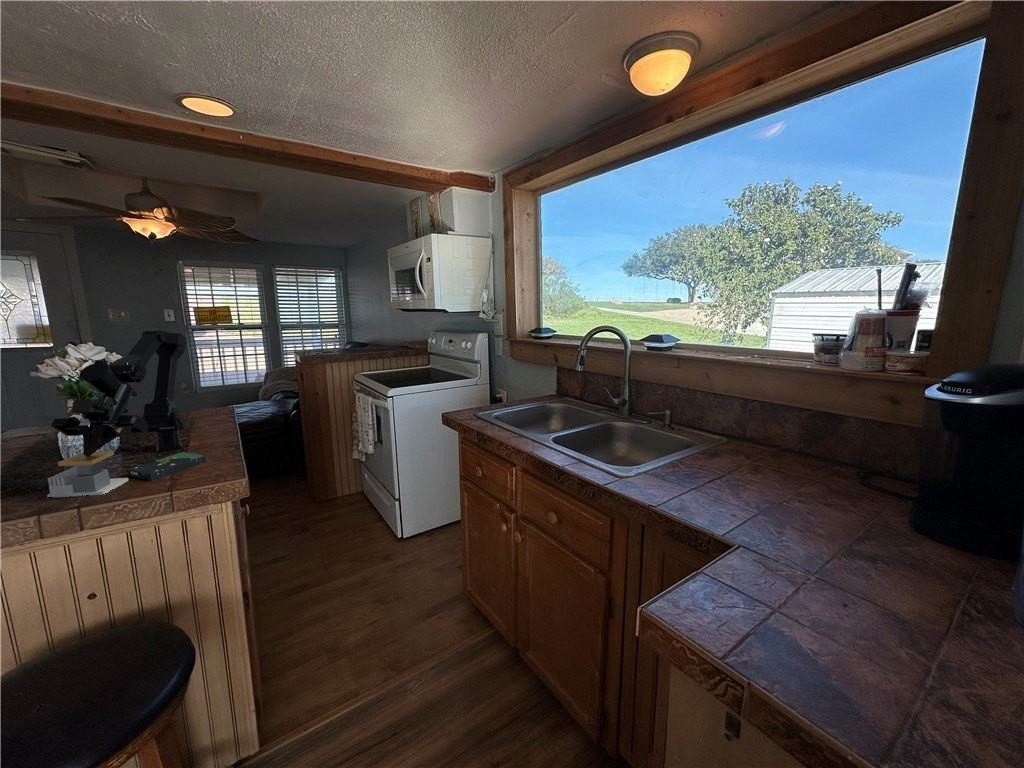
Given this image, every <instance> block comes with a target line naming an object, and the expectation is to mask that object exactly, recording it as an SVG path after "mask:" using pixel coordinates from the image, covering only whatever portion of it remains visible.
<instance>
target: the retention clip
mask: <svg viewBox="0 0 1024 768" xmlns="http://www.w3.org/2000/svg"><path fill="white" fill-rule="evenodd" d="M113 455H115V452H114V450H107V451H105V450H102V451H99V450H97V451H96V452H94V453H93V454H92V455H90V456H85V455H84V454H83V451H82V452H80V453H78V454H77V453H76V454H75V455H72V456H70V457H68V458H65V459H63V460H61V461H57V465H58V467H72V466H73V467H76V468H77V472H78V477H80V476H93V475H95V474H97V473H99V472H101V471H102V470H103V469H102V465H101V461H104V460H105V459H107V458H109V457H112V456H113Z"/></svg>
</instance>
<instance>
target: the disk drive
mask: <svg viewBox="0 0 1024 768" xmlns="http://www.w3.org/2000/svg"><path fill="white" fill-rule="evenodd" d="M204 462H206V463H207V462H208V460H207V455H206V454H200V453H196V452H195V453H194V452H193V453H191V452H186V451H182V452H178V453H173V454H170V455H167V456H165V457H161V458H158V459H154V460H152V461H148V462H145V463H142V464H139V465H136V466H132V467H130V468H127V474H128V477H131V478H135V477H137V478H136V479H140V478H141V480H144V479H147V480H146V481H149V480H151V481H150V482H154V481H153V480H155V481H157V480H156V479H158V480H160V479H159V478H161V479H163V478H165V477H164V476H166V477H168V476H167V475H169V476H171V475H170V474H172V475H174V474H173V473H175V474H177V473H180V472H182V470H183V471H186V470H188V468H189V469H191V468H190V467H192V468H194V467H196V466H195V465H198V466H200V465H202V464H201V463H203V464H205V463H204ZM199 464H200V465H199ZM193 466H194V467H193ZM185 469H186V470H185ZM179 471H180V472H179ZM176 472H177V473H176ZM162 477H163V478H162Z"/></svg>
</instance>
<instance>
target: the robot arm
mask: <svg viewBox="0 0 1024 768" xmlns="http://www.w3.org/2000/svg"><path fill="white" fill-rule="evenodd" d="M187 345H188V339H187V337H186V336H185V335H183V334H182V333H181V332H167V331H165V330H162V329H151V330H149V329H147V330H143V332H142V334H141V337H140V338H139V340H138V341H137V342H136V343H135V345H133V347H132V348H131V349H130V351H129V352H128V353H127V354H126V355H125V356H123V357H120V358H117V359H116V360H114V361H113V362H111V364H109V363H108V362H107V361H106V360H105V359H104V360H95V361H94V363H92V364H90V365H87V366H85V367H84V368H83V369H81V370H80V372H79V375H78V377H79V378H80V379H81V380H82V381H83V382H84V383H85V384H87V385H88V386H89V387H90V388H91V389H93V390H94V391H96V392H97V393H99V394H100V393H101V395H100V396H99V398H97V399H93V398H92V399H89V398H87V399H84V398H83V399H73V401H72V406H71V410H70V412H71V413H72V414H76V413H77V414H81V415H82V416H81V417H82V418H84V419H81V420H80V419H79V418H77V417H76V416H58V417H54V419H53V421H52V422H51V424H50V425H49V426H50V427H51V428H52V429H55V430H57V431H58V432H60V433H61V434H63V435H65V436H68V437H75V436H76V437H77V436H78V437H79V436H82V443H83V444H82V446H83V447H82V448H83V449H82V450H83V451H82V452H83V454H84V455H85V456H90V455H92V454H93V453H94V452H98V451H99V450H100V449H101V448H102V447H104V446H106V445H107V444H109V443H110V442H111V441H113V440H115V439H116V438H119V437H122V434H121V431H122V430H123V429H126V428H129V429H130V432H131V433H133V434H135V435H136V434H146V433H155V437H156V442H157V445H156V453H159V452H165V451H170V450H171V449H172V450H177V449H183V442H182V441H181V438H180V432H179V431H181V430H184V429H185V428H186V420H185V419H184V418H183V417H182V416H181V415H180V414H179V408H178V406H177V405H176V404H175V402H174V394H175V387H176V386H175V385H176V379H177V378H176V377H177V376H176V375H177V369H178V368H177V367H178V360H179V359H181V357H182V355H184V353H185V350H186V347H187ZM155 354H156V355H157V357H158V360H157V368H156V369H157V370H156V376H155V377H156V378H155V385H154V392H153V400H151V402H149V403H146V404H144V406H143V414H142V418H141V417H140V416H139V415H138V414H128V413H129V410H128V409H127V406H128V403H129V401H130V399H131V397H138V393H137V391H136V389H135V386H131V385H130V384H139V383H142V382H143V381H144V379H145V377H146V375H147V373H148V369H147V367H146V366H147V364H148V362H149V361H150V360H151V358H152V357H153V356H154V355H155ZM127 362H128V365H127Z"/></svg>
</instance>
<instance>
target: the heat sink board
mask: <svg viewBox="0 0 1024 768" xmlns="http://www.w3.org/2000/svg"><path fill="white" fill-rule="evenodd" d="M128 481H129V477H120V478H119V477H118V478H110V475H109V470H108V469H102V471H101V472H99V473H97V474H95V475H93V476H80V477H78V472H77V468H76V466H73V467H70V468H69V469H67V470H64V471H62V472H60V473H57V474H55V475H52V476H51V477H48V478H47V482H48V488H49V493H48V494H47V495H46V496H47V498H48V497H53V498H66V497H69V498H70V496H71V497H85V496H86V495H89V496H102V495H103V494H104V495H105V493H106V494H107V493H109V492H110V490H111V491H113V490H115V489H117V488H118V487H120V486H122V485H123V484H125V483H127V482H128ZM112 489H113V490H112ZM82 495H83V496H82ZM104 495H103V496H104Z"/></svg>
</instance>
